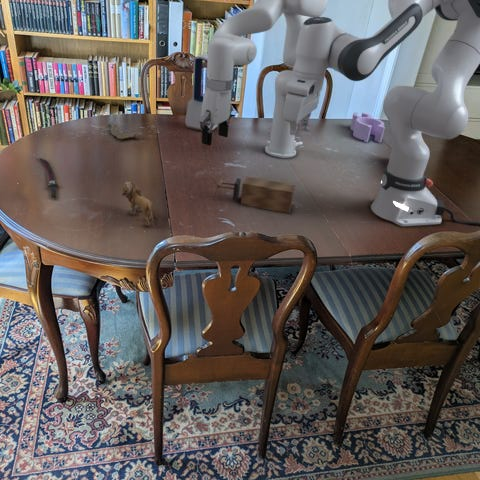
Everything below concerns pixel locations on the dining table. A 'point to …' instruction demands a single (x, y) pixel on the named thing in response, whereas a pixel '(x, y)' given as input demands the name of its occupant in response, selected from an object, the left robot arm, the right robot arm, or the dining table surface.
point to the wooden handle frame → (235, 188)
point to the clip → (367, 127)
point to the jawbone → (122, 135)
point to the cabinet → (267, 194)
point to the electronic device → (196, 96)
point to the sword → (52, 181)
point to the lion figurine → (137, 201)
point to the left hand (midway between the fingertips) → (214, 140)
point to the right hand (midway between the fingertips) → (298, 130)
